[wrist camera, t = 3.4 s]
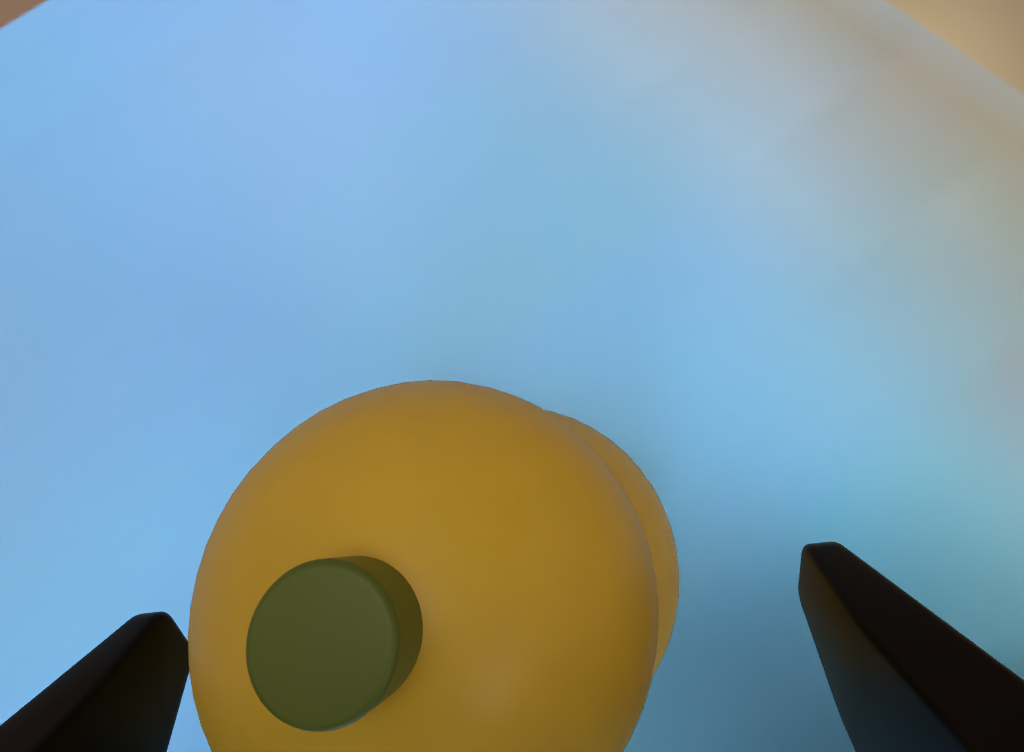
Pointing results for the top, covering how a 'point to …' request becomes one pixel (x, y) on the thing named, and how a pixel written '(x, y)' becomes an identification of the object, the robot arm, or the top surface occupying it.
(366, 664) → the squash
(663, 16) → the top surface
